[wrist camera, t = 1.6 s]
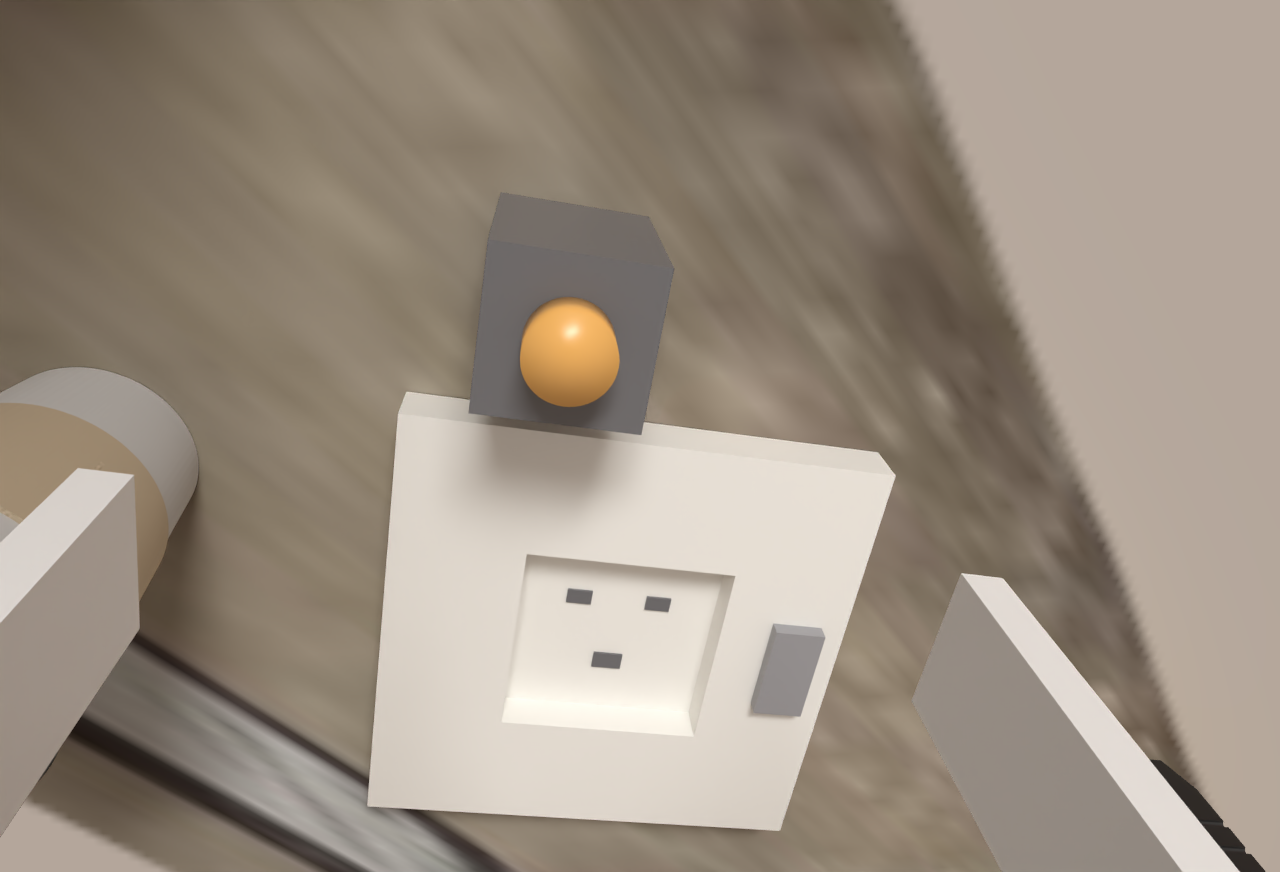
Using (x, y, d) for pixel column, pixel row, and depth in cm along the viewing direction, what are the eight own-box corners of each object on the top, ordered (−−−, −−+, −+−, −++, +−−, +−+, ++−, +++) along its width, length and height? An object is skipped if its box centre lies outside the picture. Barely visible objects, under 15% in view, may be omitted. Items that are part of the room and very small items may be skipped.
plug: (500, 192, 30) (484, 252, 22) (648, 216, 31) (681, 283, 23) (484, 334, 32) (463, 435, 24) (623, 354, 33) (646, 458, 25)
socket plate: (406, 391, 33) (395, 420, 30) (878, 452, 35) (901, 483, 33) (375, 770, 40) (364, 817, 37) (769, 796, 43) (782, 841, 40)
